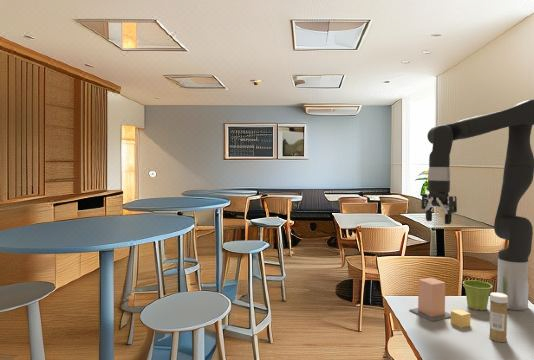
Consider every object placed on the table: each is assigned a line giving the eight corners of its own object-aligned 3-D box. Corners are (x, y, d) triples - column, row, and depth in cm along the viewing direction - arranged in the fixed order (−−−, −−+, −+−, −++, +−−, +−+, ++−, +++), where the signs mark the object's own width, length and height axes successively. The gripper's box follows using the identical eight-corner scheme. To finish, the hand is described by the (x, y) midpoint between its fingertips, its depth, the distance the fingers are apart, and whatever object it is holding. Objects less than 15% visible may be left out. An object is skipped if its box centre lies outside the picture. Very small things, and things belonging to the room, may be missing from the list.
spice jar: (509, 340, 112) (511, 295, 111) (502, 344, 109) (503, 298, 109) (493, 334, 116) (494, 290, 115) (485, 338, 113) (486, 293, 113)
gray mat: (430, 306, 138) (430, 305, 138) (454, 316, 129) (454, 315, 129) (409, 310, 134) (409, 309, 134) (432, 321, 125) (432, 320, 125)
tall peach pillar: (430, 308, 135) (431, 277, 135) (444, 314, 130) (445, 282, 129) (418, 310, 133) (418, 279, 133) (431, 316, 127) (432, 284, 127)
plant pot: (482, 314, 131) (482, 289, 131) (456, 305, 139) (457, 282, 139) (497, 309, 136) (498, 285, 135) (471, 301, 144) (472, 278, 144)
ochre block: (459, 321, 126) (459, 309, 126) (470, 325, 122) (470, 313, 122) (450, 323, 124) (450, 311, 124) (461, 327, 120) (461, 315, 120)
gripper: (462, 179, 136) (461, 224, 137) (431, 178, 149) (430, 219, 150) (447, 180, 133) (446, 226, 134) (416, 178, 146) (416, 220, 147)
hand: (438, 222), depth 142 cm, fingers open, 8 cm apart
